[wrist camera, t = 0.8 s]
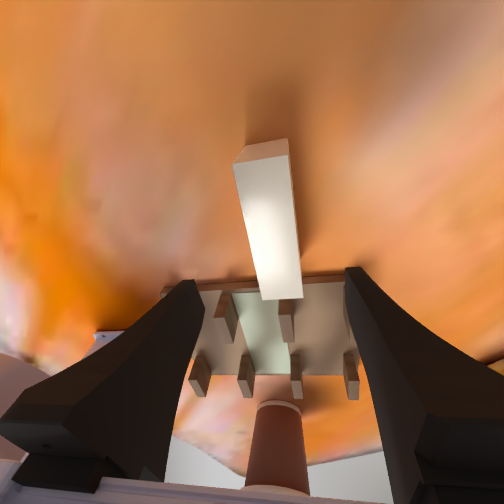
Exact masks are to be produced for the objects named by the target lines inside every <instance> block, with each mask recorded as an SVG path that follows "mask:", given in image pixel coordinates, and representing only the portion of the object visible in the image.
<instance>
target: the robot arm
mask: <svg viewBox="0 0 504 504" xmlns="http://www.w3.org/2000/svg"><path fill="white" fill-rule="evenodd" d="M345 304H346V309H347V314H348V319H349V323H350V326H351V329H352V332H353V335H354V338H355V341H356V344H357V347H358V350H359V353H360V356H361V359H362V362H363V365H364V368H365V371H366V375H367V378H368V382H369V387H370V391H371V395H372V400H373V404H374V409H375V413H376V418H377V422H378V427H379V432H380V436H381V441H382V446H383V451H384V456H385V460H386V465H387V470H388V476H389V481H390V486H391V491H392V496H393V501H394V504H504V375H502V374H500V373H498V372H496V371H495V370H493V369H491V368H489V367H487V366H486V365H484V364H482V363H480V362H479V361H477V360H475V359H473V358H472V357H470V356H468V355H467V354H465V353H463V352H462V351H460V350H459V349H457V348H456V347H454V346H452V345H451V344H449V343H448V342H446V341H444V340H443V339H441V338H440V337H438V336H437V335H436V334H434V333H433V332H431V331H430V330H429V329H427V328H426V327H425V326H423V325H422V324H421V323H419V322H418V321H417V320H415V319H414V318H413V317H412V316H411V315H409V314H408V313H407V312H406V311H405V310H403V309H402V308H401V307H400V306H399V305H398V304H397V303H396V302H394V301H393V300H392V299H391V298H390V297H389V296H388V295H387V294H386V293H385V292H384V291H383V290H382V289H381V288H380V287H379V286H378V285H377V284H376V283H375V282H374V281H373V280H372V279H371V278H370V277H369V275H368V274H367V273H366V272H365V271H364V270H363V269H362V268H361V267H347V268H345ZM204 314H205V306H204V304H203V301H202V299H201V296H200V294H199V291H198V289H197V286H196V283H195V281H194V279H192V280H182V281H181V282H180V283H179V284H178V285H176V286H175V287H174V288H173V289H172V290H171V291H170V292H169V293H168V294H167V295H166V296H165V297H164V298H162V299H161V300H160V301H159V302H158V303H157V304H156V305H155V306H154V307H153V308H152V309H151V310H149V311H148V312H147V313H146V314H145V315H144V316H142V317H141V318H140V319H139V320H138V321H137V322H135V323H134V324H133V325H132V326H131V327H129V328H128V329H127V330H125V331H103V332H95V333H94V334H93V336H94V338H95V339H96V341H95V342H94V344H93V345H92V346H91V348H90V349H89V350H88V352H87V353H86V354H85V356H84V357H83V358H82V360H81V361H79V362H77V363H75V364H74V365H72V366H70V367H68V368H67V369H65V370H63V371H61V372H59V373H57V374H55V375H53V376H51V377H49V378H47V379H45V380H43V381H42V382H39V383H38V384H35V385H33V386H31V387H30V388H27V389H25V390H24V391H23V392H22V394H21V395H20V396H19V397H18V399H17V400H16V401H15V402H14V403H13V404H12V406H11V407H10V408H9V409H8V410H7V412H6V413H5V414H4V415H3V416H2V417H1V418H0V435H1V436H3V437H4V438H6V439H7V440H9V441H10V442H12V443H14V444H15V445H17V446H18V447H20V448H21V449H23V450H24V451H26V452H27V453H26V454H25V456H24V457H23V458H22V460H21V461H20V462H19V461H15V460H7V459H0V504H384V503H373V502H363V501H352V500H341V499H331V498H321V497H310V496H300V495H289V494H279V493H268V492H258V491H247V490H237V489H225V488H215V487H204V486H194V485H184V484H173V483H164V479H165V472H166V465H167V459H168V453H169V446H170V441H171V436H172V430H173V425H174V420H175V415H176V411H177V406H178V402H179V397H180V393H181V389H182V385H183V381H184V377H185V374H186V371H187V368H188V365H189V362H190V359H191V357H192V354H193V351H194V348H195V345H196V343H197V340H198V337H199V334H200V331H201V328H202V324H203V319H204Z"/></svg>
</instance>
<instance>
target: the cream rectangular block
mask: <svg viewBox="0 0 504 504" xmlns="http://www.w3.org/2000/svg"><path fill="white" fill-rule="evenodd" d="M232 168H233V172H234V177H235V181H236V186H237V190H238V194H239V199H240V203H241V208H242V212H243V216H244V221H245V225H246V230H247V234H248V239H249V243H250V247H251V252H252V256H253V261H254V265H255V269H256V274H257V278H258V283H259V287H260V292H261V296H262V300H277V299H295V298H303V285H302V271H301V258H300V249H299V239H298V230H297V220H296V211H295V201H294V192H293V183H292V173H291V164H290V154H289V145H288V138H284V139H279V140H273V141H268V142H262V143H257V144H251V145H246V146H244V147H243V149H242V150H241V151H240V153H239V154H238V156H237V157H236V159H235V160H234V162H233V163H232Z"/></svg>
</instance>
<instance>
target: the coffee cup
mask: <svg viewBox="0 0 504 504" xmlns="http://www.w3.org/2000/svg"><path fill="white" fill-rule="evenodd" d="M240 490H247V491H258V492H268V493H279V494H289V495H300V496H310V490H309V481H308V472H307V464H306V455H305V447H304V438H303V429H302V421H301V411H300V410H299V408H298V407H297V406H295V405H294V404H292V403H289V402H286V401H281V400H269V401H265V402H262V403H260V404H259V406H258V407H257V415H256V421H255V427H254V433H253V439H252V445H251V451H250V457H249V463H248V469H247V474H246V480H245V486H244V487H243V488H242V489H240ZM310 497H311V496H310Z"/></svg>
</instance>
